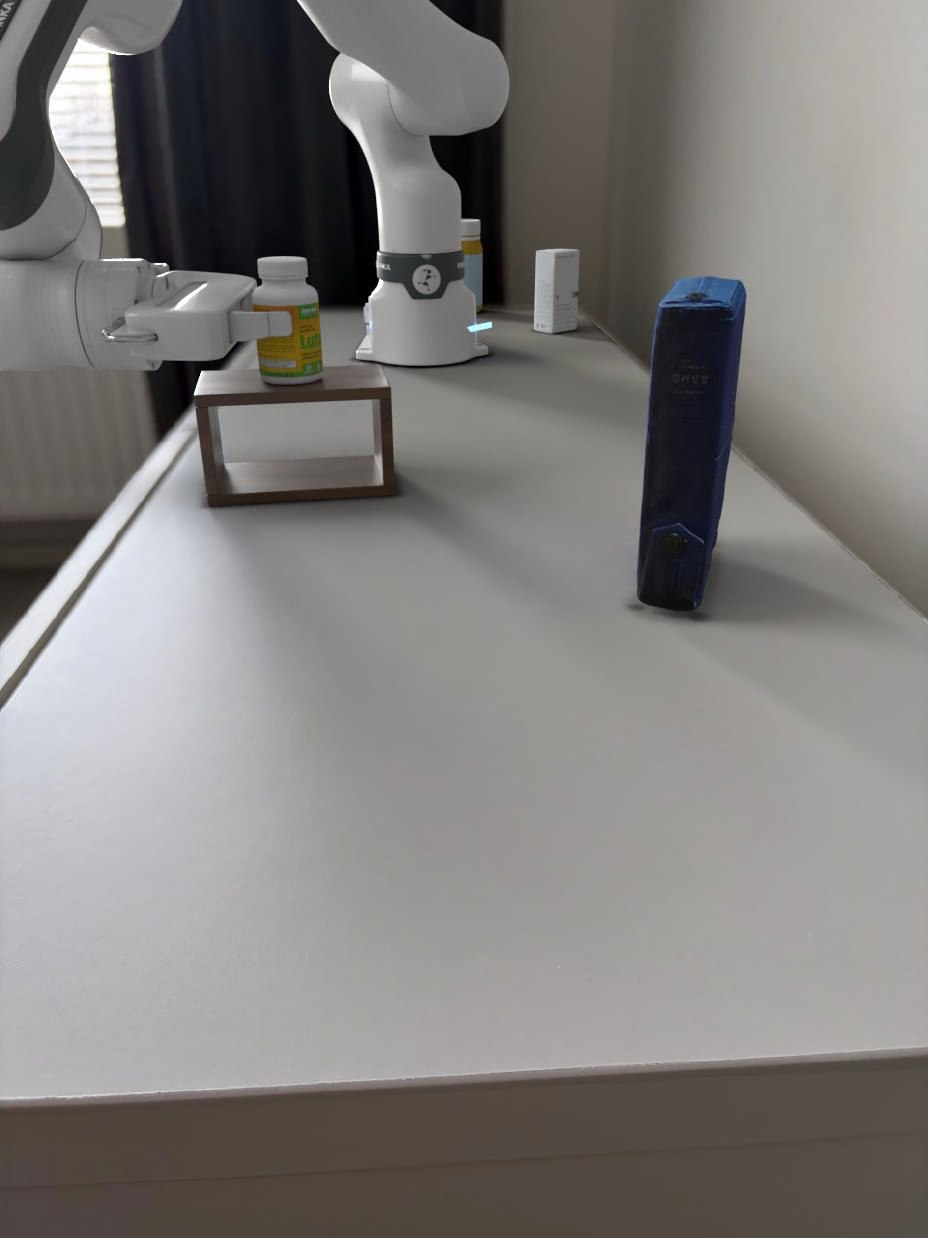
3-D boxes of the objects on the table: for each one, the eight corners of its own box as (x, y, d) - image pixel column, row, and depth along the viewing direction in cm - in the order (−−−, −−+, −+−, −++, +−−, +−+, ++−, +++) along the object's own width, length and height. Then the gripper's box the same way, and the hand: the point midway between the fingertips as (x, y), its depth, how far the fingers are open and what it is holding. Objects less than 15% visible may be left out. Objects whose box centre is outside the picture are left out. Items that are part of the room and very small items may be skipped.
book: (705, 624, 62) (745, 300, 53) (623, 613, 63) (648, 296, 54) (720, 542, 74) (754, 269, 65) (650, 535, 76) (675, 266, 67)
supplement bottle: (311, 387, 80) (301, 263, 75) (250, 384, 81) (237, 261, 76) (332, 373, 84) (324, 255, 80) (274, 370, 85) (263, 254, 81)
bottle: (439, 313, 168) (438, 221, 162) (446, 307, 175) (446, 218, 168) (478, 314, 167) (479, 222, 161) (484, 308, 174) (485, 218, 167)
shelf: (214, 473, 90) (201, 370, 85) (385, 464, 92) (381, 364, 88) (207, 506, 82) (193, 395, 77) (395, 495, 84) (391, 386, 80)
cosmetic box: (553, 334, 151) (556, 252, 146) (532, 330, 154) (534, 250, 149) (578, 329, 155) (582, 249, 149) (557, 325, 158) (560, 247, 152)
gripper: (85, 294, 69) (279, 292, 70) (154, 260, 87) (307, 259, 88) (101, 383, 72) (287, 380, 72) (164, 332, 90) (312, 330, 91)
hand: (298, 313), depth 80 cm, fingers open, 7 cm apart
